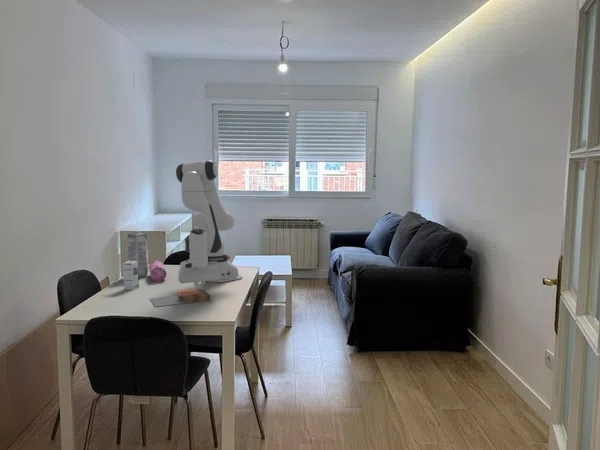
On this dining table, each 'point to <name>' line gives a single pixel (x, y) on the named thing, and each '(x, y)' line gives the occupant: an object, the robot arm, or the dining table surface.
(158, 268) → the pencil case
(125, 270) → the syrup box
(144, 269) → the juice carton
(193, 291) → the salmon pink rectangular block
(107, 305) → the dining table surface
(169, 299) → the mat
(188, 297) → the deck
